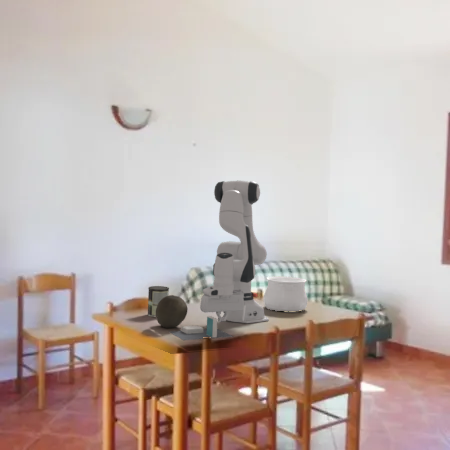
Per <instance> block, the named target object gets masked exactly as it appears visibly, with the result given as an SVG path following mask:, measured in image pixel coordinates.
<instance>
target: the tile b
mask: <svg viewBox="0 0 450 450" xmlns="http://www.w3.org/2000/svg"><path fill="white" fill-rule="evenodd" d="M206 329H207V333H206V334H207V335H209V336H211V337H217V329H218V318H216V317H214V316H212V315H211V316H210V315H208V316H207V317H206Z"/></svg>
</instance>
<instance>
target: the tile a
mask: <svg viewBox="0 0 450 450" xmlns="http://www.w3.org/2000/svg"><path fill="white" fill-rule="evenodd" d="M180 327H181V329H180V331H182V332H184V333H186V334H194V333H203V329H204V328H203V327H201V326H199V325H186V326H184V325H183V326H180Z"/></svg>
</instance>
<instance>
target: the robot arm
mask: <svg viewBox="0 0 450 450" xmlns="http://www.w3.org/2000/svg"><path fill="white" fill-rule="evenodd" d="M213 191H214V192H213V193H214V194H213V195H214V200H216V201H217V203H219V213H218V222H219V225H220V228H221V229H222V230H223V231H225V232H226V233H228V234H231V235H233V236H235V237H237V238H238V239H239V241H231V240H229V241H223V242H221V243H219V245H218V247H217V249H216V256H215V260H214V263H213V269H212V275H213V277H214V279H213V284H212V285H211V286H208V287H205V288H203V289H202V296H201V299H200V304H199V305H200V307H199V308H200V311H201V313H215V314H216V316H217V322H219V323H221V322H224V323H225V322H226V321H227V322H232V323H243V324H252V323H260V322H268V321H269V317H268V316H266V315H265V310H264V307H263V306H262V305H261V304H260V303H258V302H257V301H256V300H255V299H254V298H257V297H258V293H256V292H252V281H253V280H254V279H255V277H256V266H257V265H259V266H260V265H263V264H264V262H265V261H266V259H267V255H268V254H267V249H266V247H265V246H264V244H262V243H261V242H260V241H259V240H258V238H257V236H256V235H255V231H254V225H253V223H254V222H253V208H252V207H253V205H254V204H255V203H257V202H258V201H259V199H260V195H261V188H260V185H259V183H258V182H255V181H253V180H250V181H248V180H229V181H225V180H224V181H219V182H218V181H217V183H216V184H215V187H214V190H213ZM222 312H223V316H221V314H222Z"/></svg>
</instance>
